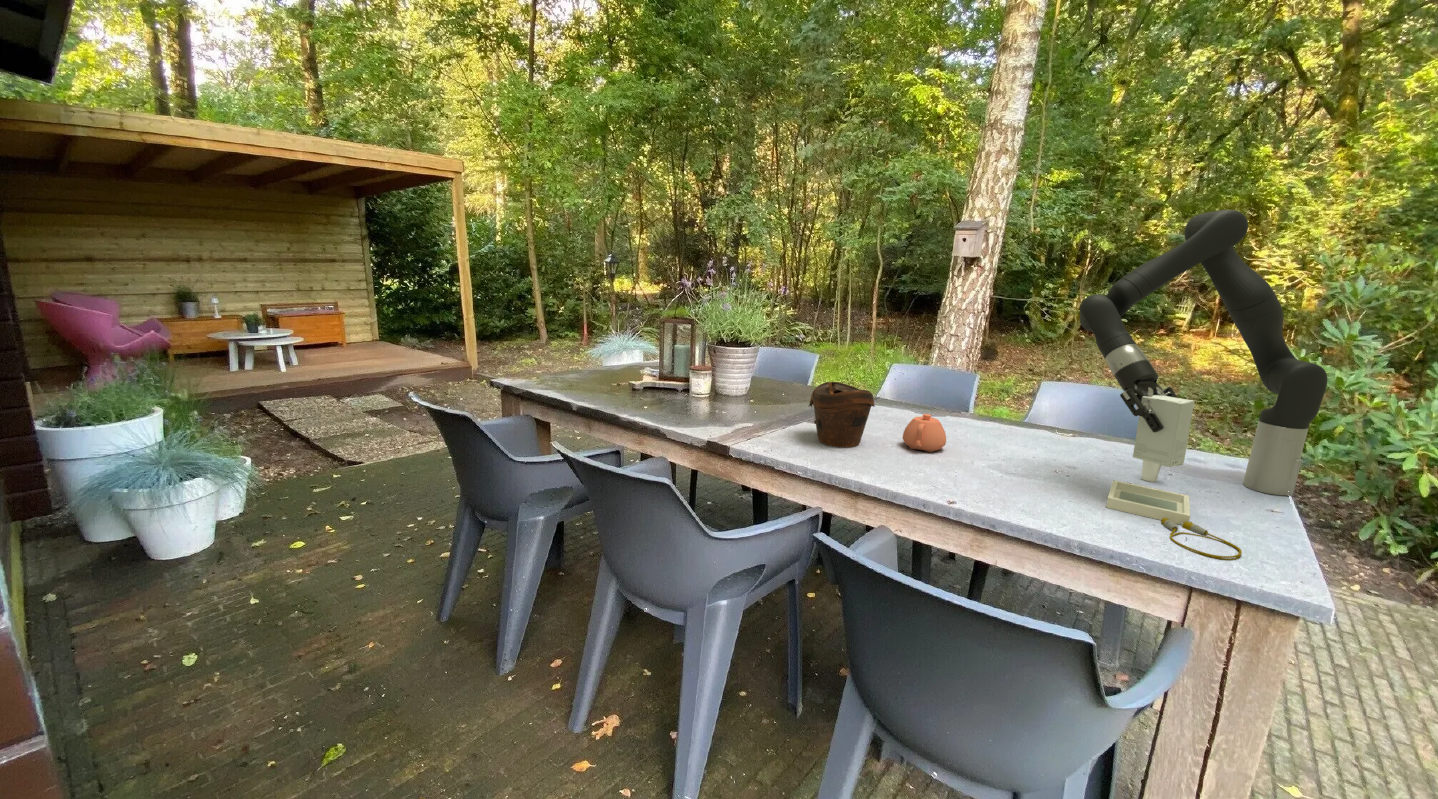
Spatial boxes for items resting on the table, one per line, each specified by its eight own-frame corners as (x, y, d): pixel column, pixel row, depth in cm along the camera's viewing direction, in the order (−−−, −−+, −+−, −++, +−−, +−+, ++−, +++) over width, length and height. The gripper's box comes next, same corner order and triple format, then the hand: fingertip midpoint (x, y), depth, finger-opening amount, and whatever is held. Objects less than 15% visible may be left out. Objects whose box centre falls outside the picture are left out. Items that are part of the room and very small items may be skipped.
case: (821, 428, 194) (825, 374, 189) (880, 441, 183) (886, 383, 178) (794, 441, 180) (798, 383, 175) (856, 456, 169) (862, 394, 164)
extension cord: (1229, 537, 125) (1232, 528, 125) (1248, 568, 112) (1250, 558, 112) (1159, 522, 131) (1160, 514, 131) (1168, 551, 118) (1170, 541, 117)
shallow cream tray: (1186, 505, 140) (1189, 495, 140) (1187, 526, 129) (1190, 515, 128) (1111, 489, 149) (1113, 480, 148) (1105, 507, 137) (1107, 497, 137)
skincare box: (1183, 465, 134) (1198, 400, 131) (1169, 468, 132) (1183, 403, 128) (1143, 453, 141) (1156, 392, 138) (1129, 456, 139) (1142, 394, 135)
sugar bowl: (949, 446, 180) (953, 413, 177) (938, 458, 168) (942, 423, 166) (908, 439, 186) (911, 407, 184) (894, 450, 174) (898, 416, 172)
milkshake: (1166, 484, 154) (1174, 447, 152) (1143, 481, 155) (1150, 445, 153) (1157, 478, 159) (1165, 441, 156) (1135, 475, 160) (1142, 439, 157)
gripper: (1120, 359, 136) (1161, 423, 128) (1166, 358, 140) (1208, 420, 132) (1095, 377, 142) (1132, 439, 134) (1140, 375, 147) (1178, 436, 138)
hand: (1170, 429), depth 133 cm, fingers closed on skincare box, 6 cm apart
